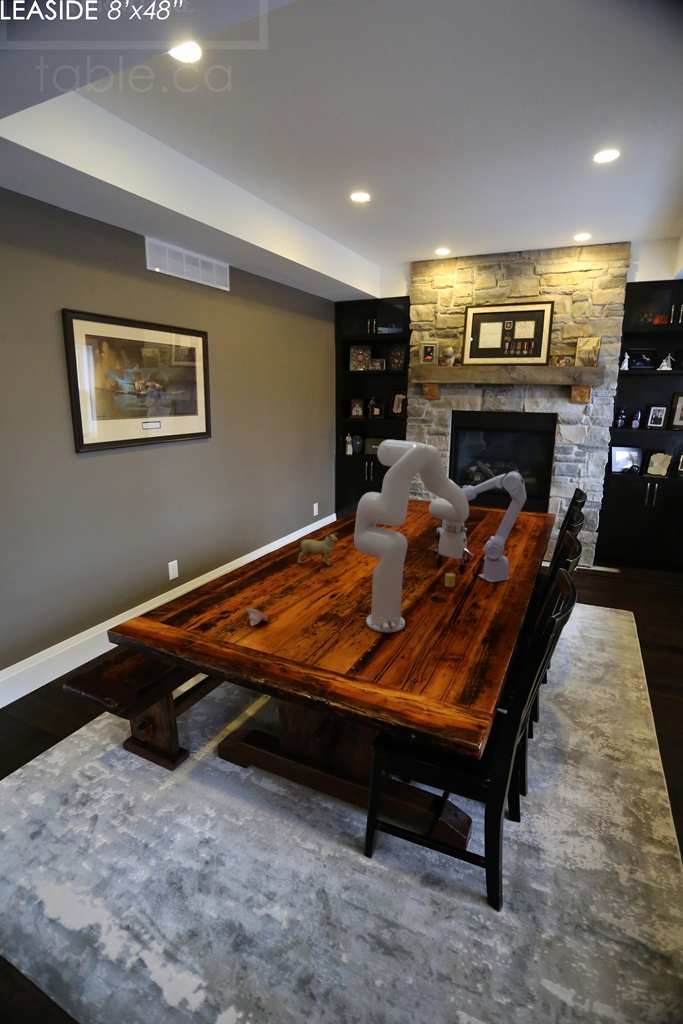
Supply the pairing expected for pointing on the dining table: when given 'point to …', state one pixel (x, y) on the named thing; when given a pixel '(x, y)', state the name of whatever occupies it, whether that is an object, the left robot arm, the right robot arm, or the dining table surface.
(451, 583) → the tin
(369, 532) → the left robot arm
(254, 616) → the seashell
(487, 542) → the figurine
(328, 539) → the toy
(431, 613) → the dining table surface
